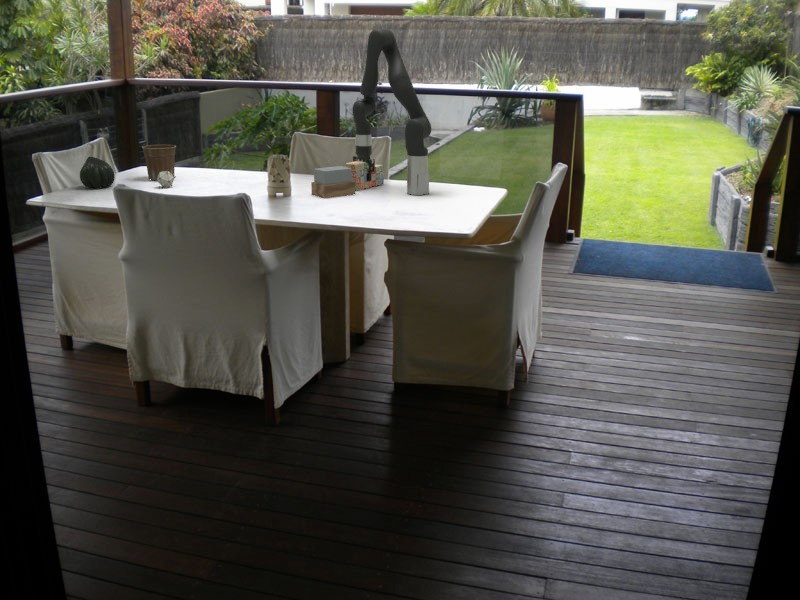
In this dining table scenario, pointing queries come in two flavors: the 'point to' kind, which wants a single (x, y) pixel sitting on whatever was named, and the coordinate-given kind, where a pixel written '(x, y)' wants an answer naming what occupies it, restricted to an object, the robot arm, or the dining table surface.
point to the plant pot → (159, 159)
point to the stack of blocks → (365, 175)
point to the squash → (96, 173)
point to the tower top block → (332, 175)
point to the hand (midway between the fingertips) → (363, 179)
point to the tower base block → (333, 189)
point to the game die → (165, 178)
